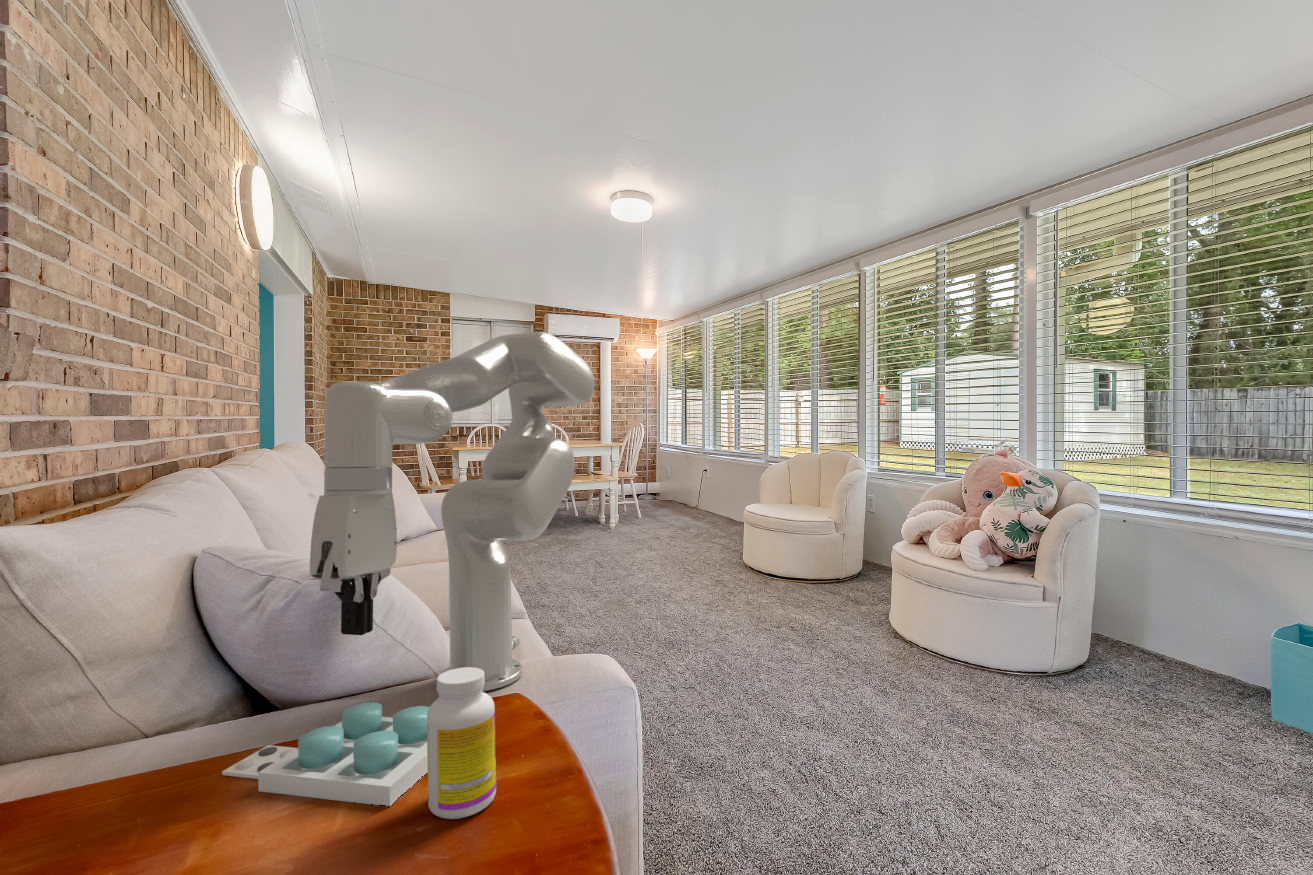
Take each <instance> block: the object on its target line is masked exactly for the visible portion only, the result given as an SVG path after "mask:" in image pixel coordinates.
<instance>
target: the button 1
mask: <svg viewBox="0 0 1313 875" xmlns="http://www.w3.org/2000/svg"><path fill="white" fill-rule="evenodd" d="M297 748H298V765H299V766H300V767H302V768H318V767H323V766H326V765H329V764H331V763H333V762H335V761H337V760H338V759H340V758H341V757H342V756H343V754H344V730H343V728H341V727H338V726H335V725H328V726H321V727H318V728H314V729H311V730H309V731H307V732H305V733H303V734H301V736H299V738H298V740H297Z"/></svg>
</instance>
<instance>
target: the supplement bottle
mask: <svg viewBox="0 0 1313 875" xmlns="http://www.w3.org/2000/svg"><path fill="white" fill-rule="evenodd" d="M441 673H442V672H441ZM441 673H440V674H439V675H438V676H437V677H436V688H435V689H436V691H437V694H438V699H436V700H434V702H433V703H431V705H430V706H429V707H430V708H429V710H428V713H427V761H428V773H427V801H428V802H427V804H428V809H429V810H430V812H431V813H432V814H433V815H435V816H437V817H438V818H441V819H446V820H448V819H449V820H457V819H458V820H459V819H463V818H467V817H470V816H473V815H476V814H477V813H479V812H481V811H482V810H484V809H486V808H487V807H489V805H490V804H491V803H492V802H493V800H494V798H495V796H496V793H497V762H496V761H497V760H496V758H497V756H496V755H497V754H496V715H495V714H496V712H495V702H494V700H493V698H492V696H490V695H489V694H487V693H486V692H485V691H482V689H483V687H484V684H485V676H484V671H483V670H482V669H479V668H473V667H464V668H457V669H452V670H449V671H446V672H444V673H442V674H441Z"/></svg>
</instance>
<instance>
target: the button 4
mask: <svg viewBox="0 0 1313 875" xmlns="http://www.w3.org/2000/svg"><path fill="white" fill-rule="evenodd" d="M429 708H430V706H425V705H418V706H410V707H407V708H404V709H400V710H399V711H397V712H396V713H394V715H393V716H392V718H393V732H396V733H397V734H398V744H412V743H416V742H420V741H422V740H424V739H426V738H427V713H428V710H429Z"/></svg>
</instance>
